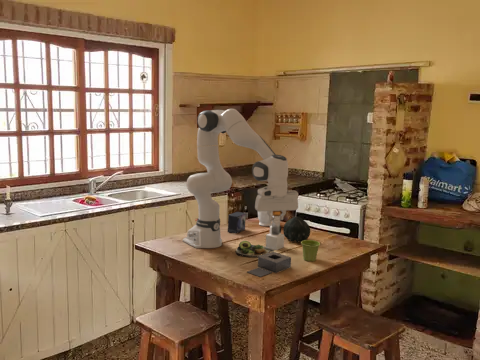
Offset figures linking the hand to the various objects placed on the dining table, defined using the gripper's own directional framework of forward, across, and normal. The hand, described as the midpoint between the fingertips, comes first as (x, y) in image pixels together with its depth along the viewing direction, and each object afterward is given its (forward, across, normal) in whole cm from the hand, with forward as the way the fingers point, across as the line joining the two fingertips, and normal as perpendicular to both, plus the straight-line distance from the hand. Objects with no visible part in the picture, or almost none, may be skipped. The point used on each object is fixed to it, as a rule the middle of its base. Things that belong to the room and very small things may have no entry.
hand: (276, 219), depth 222 cm
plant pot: (+23, -21, -6) cm, 32 cm away
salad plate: (+24, +4, -23) cm, 33 cm away
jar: (+23, -21, -72) cm, 79 cm away
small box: (+23, 0, -62) cm, 66 cm away
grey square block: (+23, 0, 0) cm, 23 cm away
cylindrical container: (+7, 0, 0) cm, 7 cm away
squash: (+23, -27, -38) cm, 52 cm away
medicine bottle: (+23, -11, -28) cm, 38 cm away
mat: (+23, +9, +5) cm, 25 cm away
